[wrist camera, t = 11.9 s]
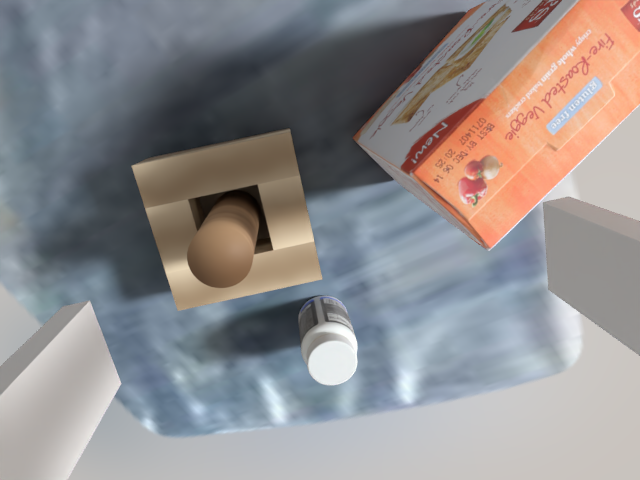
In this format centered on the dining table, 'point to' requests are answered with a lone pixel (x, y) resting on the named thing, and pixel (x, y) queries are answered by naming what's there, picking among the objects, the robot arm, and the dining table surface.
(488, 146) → the cracker box
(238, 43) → the dining table surface
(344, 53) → the dining table surface
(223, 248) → the pin
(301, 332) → the pill bottle
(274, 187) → the bore block
